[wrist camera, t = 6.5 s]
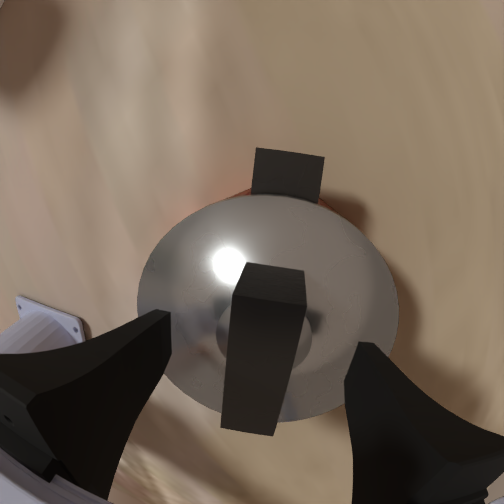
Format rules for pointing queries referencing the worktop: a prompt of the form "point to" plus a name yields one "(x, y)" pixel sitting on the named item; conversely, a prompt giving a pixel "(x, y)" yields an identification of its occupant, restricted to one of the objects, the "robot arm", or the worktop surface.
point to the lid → (268, 307)
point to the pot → (287, 175)
